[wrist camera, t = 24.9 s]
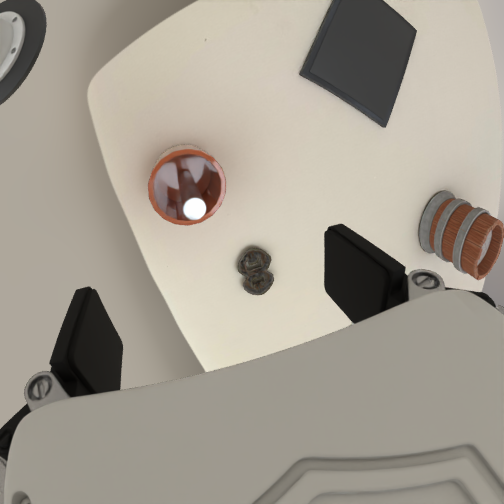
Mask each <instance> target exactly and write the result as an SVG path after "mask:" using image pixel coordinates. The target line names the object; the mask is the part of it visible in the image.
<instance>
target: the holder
mask: <svg viewBox="0 0 504 504" xmlns="http://www.w3.org/2000/svg"><path fill="white" fill-rule="evenodd" d="M184 171H188V172H190V173H191V174H192V176H193V178H194V180H195V182H196V185H197V187H198V189H199V191H200V193H201V195H202V197H203V199H204V202H205V204H206V207H207V209H206V213H205V215H204V216H203V217H202V218H201V219H198V220H190V219H188V218H187V217H186V216H185V215H184V213H183V208H182V203H181V197H180V190H179V184H178V176H179V174H180V173H181V172H184ZM148 192H149V199H150V201H151V203H152V206H153V208H154V209H155V211H156V212H157V213H158V214H159V215H160V216H161V217H162V218H163V219H165V220H167V221H169V222H171V223H174V224H178V225H192V224H197V223H201V222H203V221H204V220H206V219H208V218H209V217H211V216H212V215H213V214H214V213H215V212H216V211H217V209H218V208H219V207H220V206H221V204H222V201H223V199H224V196H225V193H226V179H225V176H224V173H223V170H222V168H221V166H220V165H219V164H218V163H217V161H216V160H215V159H214V158H213V157H212V156H211V155H209V154H208V153H206V152H205V151H203V150H201V149H200V148H198V147H196V146H193V145H185V144H184V145H177V146H174V147H171V148H169V149H168V150H166V151H165V152H163V153H162V155H161V156H160V157H159V158H158V160H157V161H156V163H155V165H154V168H153V170H152V173H151V176H150V179H149V183H148Z"/></svg>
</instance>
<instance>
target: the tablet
mask: <svg viewBox="0 0 504 504" xmlns="http://www.w3.org/2000/svg"><path fill="white" fill-rule="evenodd" d="M416 32H417V30H416V29H415V28H414V27H413V26H412V25H411V24H410V23H408V22H407V21H406V20H405V19H404V18H403V17H402V16H401V15H400V14H399V13H397V12H396V11H395V10H394V9H393V8H392V7H390V6H389V5H388V4H387V3H386V2H384V1H383V0H333V1H332V3H331V6H330V8H329V10H328V12H327V14H326V16H325V19H324V21H323V23H322V25H321V27H320V30H319V32H318V34H317V36H316V38H315V41H314V43H313V45H312V47H311V50H310V52H309V54H308V56H307V59H306V61H305V63H304V65H303V68H302V70H301V72H300V75H301V76H303V77H305V78H307V79H308V80H310V81H312V82H314V83H316V84H317V85H319V86H321V87H323V88H324V89H326V90H328V91H329V92H331V93H333V94H334V95H336V96H338V97H339V98H341V99H342V100H344V101H345V102H347V103H349V104H350V105H352V106H353V107H355V108H356V109H358V110H359V111H361V112H362V113H363V114H365V115H366V116H368V117H369V118H371V119H372V120H373V121H375V122H376V123H378V124H379V125H380V126H382V127H385V128H386V126H387V123H388V120H389V117H390V115H391V112H392V109H393V106H394V103H395V100H396V98H397V95H398V92H399V89H400V86H401V83H402V80H403V76H404V73H405V70H406V67H407V64H408V60H409V57H410V54H411V50H412V47H413V43H414V40H415V36H416Z"/></svg>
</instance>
